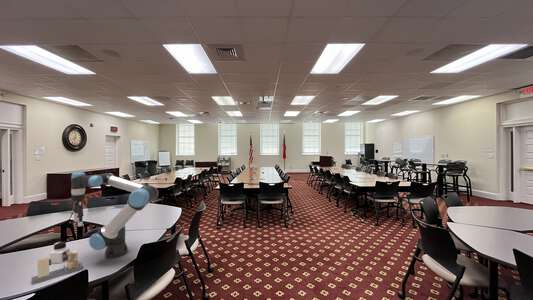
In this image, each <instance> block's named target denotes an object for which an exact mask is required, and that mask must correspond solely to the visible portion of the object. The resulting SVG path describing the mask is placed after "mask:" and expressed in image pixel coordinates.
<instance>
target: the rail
mask: <svg viewBox="0 0 533 300" xmlns="http://www.w3.org/2000/svg"><path fill="white" fill-rule="evenodd" d="M36 263H37V269H36V271H37V274H36V275H35V276H32V277H31V285H35V283H36V284H39V283H42V282H45V281H48V280H51V279H55V278H58V277H62V276H65V275H68V274H72V273H74V272H77V271H81V270H84V265H83V263H81V261H78V267H76V268H73V269H69V270H68V268H67V266H66V265H64V266H63V267H62V268H59V269H55V270H53V271H50V266H51V265H52V263H51V259H50V257H44V258H41V259H37V261H36Z"/></svg>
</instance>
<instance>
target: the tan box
mask: <svg viewBox="0 0 533 300" xmlns="http://www.w3.org/2000/svg"><path fill="white" fill-rule="evenodd" d="M65 259H66V261H67V262H66V265H67V266H66V267H67V268H68V270H69V269H73V268H76V267H78V264H79V251H78V250H77V249H76V250H72V251H70V252H68V253H67V255H65Z"/></svg>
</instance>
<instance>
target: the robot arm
mask: <svg viewBox="0 0 533 300" xmlns="http://www.w3.org/2000/svg"><path fill="white" fill-rule="evenodd" d="M101 185H108V186H112V187H114V188H117V189H120V190H125V191H127V192H131V193H130V194H129V196H128V199H127V202H126V203H127V204H125V205H124V207H123V208H122V209H121V210H120V211H118V212H117V214H116V215H115V216H114V217H113V218H112V219H111V221H110V222H109V223H108V224H107V225H104V226H102V227H101V228H100V229H98V231H97V232H96V233H93V234H91V236H90V237H89V239H88V243H89V246H90V247H91V249H93V250H95V251H100V250H102V249H105V251H104V258H109V259H110V258H111V259H113V258H119V257H122V256H124V255H126V254H127V253H128V251H129V247H128V245H127V242H126V224H127V223H128V222H129V221H130V220H131V219H132V217H134V216H135V215H136V213H138V211H142V210H143V209H145V207H146V206H147V205H148V204H150V203H152V202H154V201H156V200H157V198H158V197H159V190H158V188H156V187H155V186H153V185H150V184H146V183H144V184H142V183H138V182H135V181H132V180H129V179H126V178H122V177H118V176H116V175H114V174H113V173H111V172H109V173H107V172H106V173H101V174H94V175H86V173H85V172H82V171H81V172H73V173H71V188H70V189H71V190H70V191H71V197H70V198H71V201H73V202H74V204H73V217H74V218H73V219H74V220H73V222H74V223H77V227H82V226H84V223H83V222H84V206H83V200H85V199H86V194H85V193H86V187H99V186H101Z"/></svg>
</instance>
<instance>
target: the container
mask: <svg viewBox="0 0 533 300" xmlns="http://www.w3.org/2000/svg"><path fill="white" fill-rule="evenodd" d="M68 252H71V251H70V247H67V242H66V241H58V242H56V243H54V244H53V250H52V251H51V252H49V259H51V264H62V263H64V262H65V261H66V259H65V255H67V253H68Z"/></svg>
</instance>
